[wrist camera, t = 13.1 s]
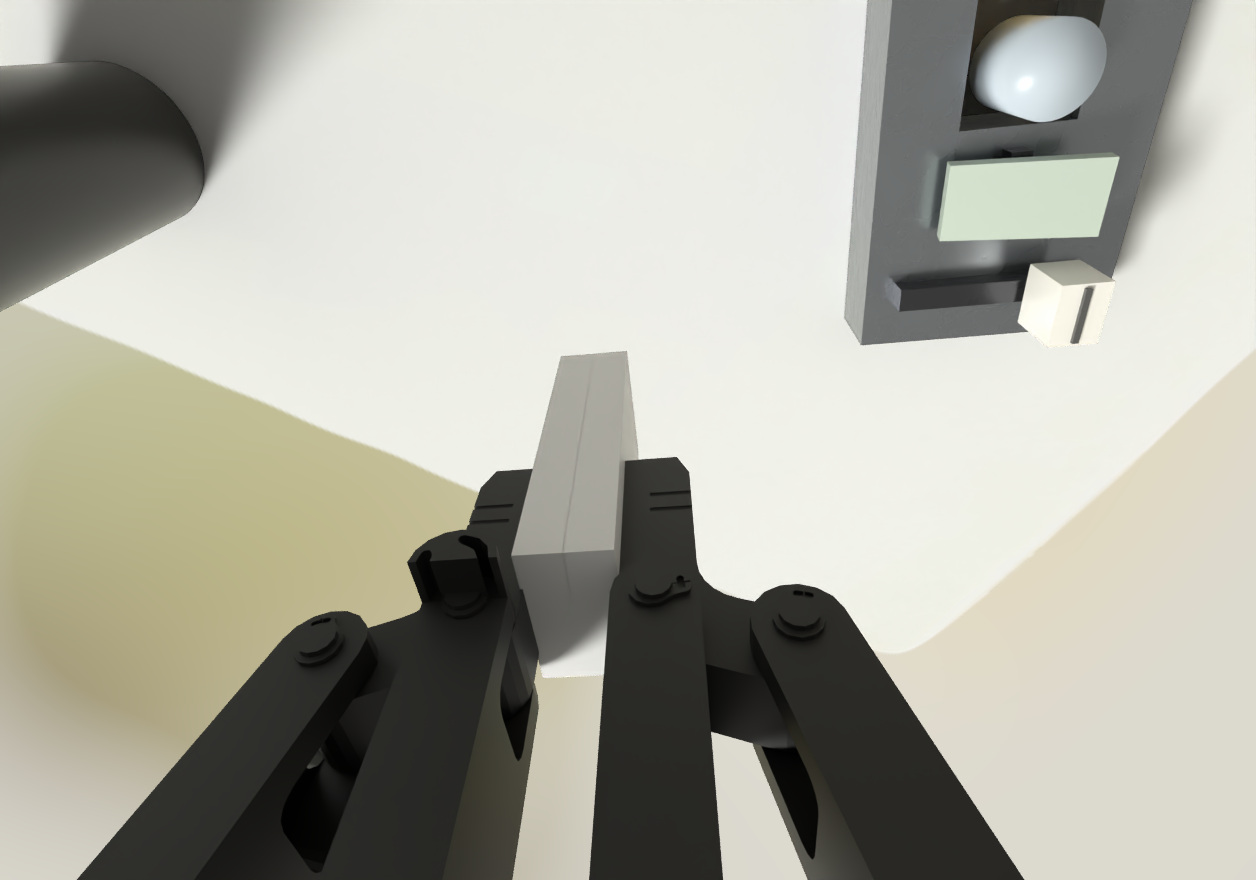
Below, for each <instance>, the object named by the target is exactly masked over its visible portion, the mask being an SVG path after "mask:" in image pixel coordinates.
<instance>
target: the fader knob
mask: <svg viewBox="0 0 1256 880" xmlns="http://www.w3.org/2000/svg"><path fill="white" fill-rule="evenodd" d="M1115 283H1116V281H1115V280H1113V279H1111V278H1110V277H1108V276H1106V275H1105V274H1103V273H1101V272H1100V271H1098V270H1096V269H1095V268H1093V267H1091V266H1090V265H1088V264H1086V263H1085V262H1083V261H1081V260H1069V261H1058V262H1046V263H1035V264H1030V268H1029V273H1028V277H1027V282H1026V286H1025V291H1024V295H1023V300H1022V304H1021V309H1020V313H1019V318H1018V323H1019V324H1020V325H1021V326H1022V327H1024V328H1025V329H1026V330H1027V331H1028V332H1029V333H1031V334H1032V335H1033V336H1034V337H1035V338H1036V339H1037V340H1039V341H1040V342H1041V343H1042V344H1043V345H1044V346H1046V347H1047V348H1050V347H1063V346H1075V345H1088V344H1098V341H1099V337H1100V334H1101V331H1102V327H1103V324H1104V321H1105V317H1106V314H1107V310H1108V307H1109V304H1110V300H1111V297H1112V293H1113V290H1114V287H1115Z"/></svg>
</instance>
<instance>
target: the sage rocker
mask: <svg viewBox="0 0 1256 880" xmlns="http://www.w3.org/2000/svg"><path fill="white" fill-rule="evenodd" d="M1119 158H1120V157H1119V156H1118V155H1116V154H1114V153H1113V152H1108V153H1090V154H1072V155H1054V156H1036V157H1018V158H1001V159H983V160H965V161H947V168H946V175H945V182H944V189H943V196H942V203H941V210H940V217H939V224H938V231H937V237H938V239H939V241H967V240H1002V239H1036V238H1071V237H1098V235H1099V231H1100V228H1101V224H1102V220H1103V217H1104V213H1105V209H1106V206H1107V202H1108V198H1109V195H1110V191H1111V187H1112V183H1113V180H1114V176H1115V172H1116V169H1117V165H1118V161H1119Z"/></svg>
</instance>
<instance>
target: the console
mask: <svg viewBox="0 0 1256 880" xmlns="http://www.w3.org/2000/svg"><path fill="white" fill-rule="evenodd" d="M1191 4H1192V0H1059V4H1058V9H1057V14H1056V16H1074V17H1081V18H1085V19H1087V20H1089V21H1091V22H1093V23H1094V24H1095V25H1096V26H1097V27H1098V28H1099V29H1100V30H1101V32H1102V34H1103V36H1104V39H1105V42H1106V49H1107V57H1106V64H1105V68H1104V71H1103V74H1102V76H1101V79H1100V81H1099V83H1098V85H1097V86H1096V88H1095V89H1094V91H1093V92H1092V94H1091V95H1090V96H1089V97H1088V99H1087V100H1086V101H1085V102H1084V103H1083V104H1082V105H1080V106H1079V107H1078V108H1077V109H1075V110H1074V111H1073V112H1071V113H1069V114H1068V115H1066V116H1064V117H1062V118H1059V119H1056V120H1053V121H1048V122H1034V121H1030V120H1027V119H1024V118H1020V117H1017V116H1014V115H1011V114H1008V113H1004V112H998V113H988V114H979V115H970V116H961V114H962V107H963V100H964V93H965V86H966V80H967V73H968V66H969V59H970V53H971V46H972V39H973V32H974V25H975V19H976V12H977V5H978V0H868V4H867V18H866V31H865V45H864V58H863V72H862V85H861V99H860V113H859V126H858V140H857V153H856V167H855V180H854V194H853V208H852V221H851V235H850V248H849V262H848V276H847V289H846V303H845V316H844V318H845V320H846V322H847V323H848V325H849V326H850V328H851V330H852V331H853V333H854V334H855V336H856V338H857V339H858V341H859V343H860V344H861V345H870V344H883V343H895V342H907V341H920V340H932V339H944V338H957V337H969V336H981V335H993V334H1006V333H1018V332H1028V331H1027V330H1026V329H1025V328H1024V327H1022V326H1021V325H1020V324H1019V323H1018V318H1019V313H1020V309H1021V304H1022V300H1023V295H1024V291H1025V286H1026V282H1027V277H1028V273H1029V268H1030V264H1035V263H1046V262H1058V261H1069V260H1081V261H1083V262H1085V263H1086V264H1088V265H1090V266H1091V267H1093V268H1095V269H1096V270H1098V271H1100V272H1101V273H1103V274H1105V275H1106V276H1108V277H1110V278H1111V279H1112V275H1113V272H1114V269H1115V265H1116V262H1117V258H1118V255H1119V251H1120V248H1121V245H1122V241H1123V238H1124V234H1125V231H1126V227H1127V224H1128V220H1129V217H1130V214H1131V210H1132V207H1133V203H1134V200H1135V196H1136V193H1137V189H1138V186H1139V183H1140V179H1141V176H1142V172H1143V169H1144V165H1145V162H1146V159H1147V155H1148V152H1149V148H1150V145H1151V141H1152V138H1153V134H1154V131H1155V128H1156V124H1157V121H1158V117H1159V114H1160V110H1161V107H1162V104H1163V100H1164V97H1165V93H1166V90H1167V86H1168V83H1169V79H1170V76H1171V73H1172V69H1173V66H1174V62H1175V59H1176V55H1177V52H1178V49H1179V45H1180V42H1181V38H1182V35H1183V31H1184V28H1185V24H1186V21H1187V18H1188V14H1189V11H1190V7H1191ZM1108 152H1113V153H1114V154H1116V155H1118V156H1119V157H1120V158H1119V161H1118V165H1117V169H1116V172H1115V176H1114V180H1113V183H1112V187H1111V191H1110V195H1109V198H1108V202H1107V206H1106V209H1105V213H1104V217H1103V220H1102V224H1101V228H1100V231H1099V235H1098V237H1071V238H1036V239H1002V240H967V241H939V239H938V237H937V231H938V224H939V217H940V210H941V203H942V196H943V189H944V182H945V175H946V168H947V161H965V160H983V159H1001V158H1018V157H1036V156H1054V155H1072V154H1090V153H1108Z"/></svg>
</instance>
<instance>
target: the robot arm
mask: <svg viewBox="0 0 1256 880" xmlns="http://www.w3.org/2000/svg"><path fill="white" fill-rule="evenodd" d="M469 522H470V524H469V525H468V526H467V529H466V530H458V531H453V532H447V533H444V534H442V535H440V536H437V537H435V538H433V539H430V540H428V541H427V542H426V543H425V544H423V545H422V546H421V547H419V548H418V549H417V550H415V552H414V553H413V555H412V556H411V558H410V559H409V560H408V562H407V563H408V566H409V569H410V571H411V574H412V577H413V579H414V582H415V584H416V587H417V590H418V593H419V595H420V598H421V601H422V605H421V608H420V610H418V611H417V612H415V613H413V614H410V615H408V616H405V617H403V618H400V619H396V620H393V621H390V622H387V623H383V624H380V625H377V626H373V627H370V628H368V627H367V625H366V624H365V623H364V621H363V620H362V618H361V617H360V616H359V615H356V614H353V613H351V612H348V611H338V612H337V611H336V612H328V613H325V614H322V615H318V616H315V617H313V618H311V619H309V620H307V621H306V622H304V623H303V624H301V625H298V626H297V627H296V628H294V629H293V630H292V631H291V632H290V633H289V634H288V635H287V636H286V637H285V638H283V639H282V641H281V642H280V643H279V644H278V645H277V647H276V648H275V649H274V650H273V651H272V652H271V653H270V655H269V656H268V657H267V658H266V659H265V661H264V662H263V663H262V664H261V665H260V667H258V669H257V670H256V671H255V672H254V673H253V675H252V676H251V677H250V678H249V679H248V680H247V682H246V683H245V684H244V685H243V686H242V687H241V688H240V690H239V691H238V692H237V693H236V694H235V695H234V697H233V698H232V699H231V700H230V701H229V702H228V704H227V705H226V706H225V707H224V709H222V711H221V712H220V713H219V714H218V715H217V717H216V718H215V719H214V720H213V721H212V722H211V724H210V725H209V726H208V727H207V728H206V729H205V731H204V732H203V733H202V734H201V735H200V736H199V738H198V739H197V740H196V741H195V742H194V743H193V745H192V746H191V747H190V748H189V749H188V750H187V752H186V753H185V754H184V755H183V756H182V757H181V759H180V760H179V761H178V762H177V763H176V764H175V766H174V767H173V768H172V769H171V770H170V772H169V773H168V774H167V775H166V776H165V777H164V778H163V780H162V781H161V782H160V783H159V784H158V785H157V787H156V788H155V789H154V790H153V791H152V792H151V794H150V795H149V796H148V797H147V798H146V799H145V801H144V802H143V803H142V804H141V805H140V807H139V808H138V809H137V810H136V811H135V812H134V814H133V815H132V816H131V817H130V818H129V819H128V821H127V822H126V823H125V824H124V825H123V827H122V828H121V829H120V830H119V831H118V832H117V833H116V835H115V836H114V837H113V838H112V839H111V840H110V842H109V843H108V844H107V845H106V846H105V847H104V849H103V850H102V851H101V852H100V853H99V855H98V856H97V857H96V858H95V859H94V860H93V861H92V863H91V864H90V865H89V866H88V867H87V868H86V870H85V871H84V872H83V873H82V874H81V875H80V877H79V878H78V879H77V880H512V877H513V871H514V864H515V858H516V852H517V845H518V839H519V832H520V825H521V819H522V812H523V806H524V799H525V793H526V787H527V780H528V774H529V767H530V761H531V754H532V748H533V741H534V735H535V728H536V722H537V715H538V709H539V708H538V695H537V691H536V688H535V684H534V679H535V674H536V667H537V662H538V660H539V664H540V668H541V671H542V675H543V678H554V677H575V676H595V675H596V676H598V675H604V679H603V680H604V681H603V694H602V708H601V722H600V736H599V750H598V764H597V777H596V791H595V805H594V819H593V833H592V847H591V861H590V876H589V880H723V873H722V862H721V850H720V836H719V824H718V813H717V800H716V787H715V775H714V763H713V750H712V738H711V732H714V733H718V734H722V735H725V736H729V737H732V738H736V739H739V740H743V741H746V742H750V743H753V746H754V749H755V751H756V754H757V756H758V759H759V761H760V763H761V766H762V769H763V771H764V774H765V776H766V778H767V781H768V783H769V786H770V788H771V791H772V793H773V796H774V798H775V801H776V803H777V806H778V808H779V810H780V813H781V815H782V818H783V820H784V823H785V825H786V828H787V830H788V832H789V835H790V837H791V840H792V842H793V845H794V847H795V850H796V852H797V854H798V857H799V859H800V862H801V864H802V866H803V869H804V872H805V874H806V876H807V879H808V880H1024V879H1023V877H1022V876H1021V874H1020V873H1019V871H1018V869H1017V868H1016V866H1015V865H1014V863H1013V862H1012V860H1011V859H1010V857H1009V856H1008V854H1007V853H1006V852H1005V850H1004V848H1003V847H1002V845H1001V844H1000V842H999V841H998V839H997V838H996V836H995V835H994V833H993V832H992V830H991V829H990V827H989V826H988V824H987V823H986V821H985V820H984V818H983V817H982V815H981V814H980V812H979V811H978V809H977V807H976V806H975V804H974V803H973V801H972V800H971V798H970V797H969V795H968V794H967V792H966V791H965V789H964V788H963V786H962V785H961V783H960V782H959V780H958V779H957V777H956V776H955V774H954V773H953V771H952V770H951V768H950V767H949V765H948V764H947V762H946V761H945V759H944V758H943V756H942V755H941V753H940V752H939V750H938V749H937V747H936V746H935V744H934V742H933V741H932V739H931V738H930V737H929V735H928V733H927V732H926V730H925V729H924V727H923V726H922V725H921V723H920V721H919V720H918V718H917V717H916V715H915V714H914V712H913V711H912V709H911V708H910V706H909V705H908V703H907V702H906V700H905V699H904V697H903V696H902V694H901V693H900V691H899V690H898V688H897V687H896V685H895V684H894V682H893V681H892V679H891V677H890V676H889V674H888V673H887V671H886V670H885V668H884V667H883V665H882V664H881V662H880V661H879V659H878V658H877V657H876V655H875V653H874V652H873V650H872V649H871V647H870V646H869V644H868V643H867V641H866V640H865V638H864V637H863V635H862V634H861V632H860V631H859V629H858V628H857V626H856V625H855V623H854V622H853V620H852V619H851V617H850V616H849V614H848V612H847V611H846V609H845V608H844V607H843V606H842V605H841V604H840V603H839V602H838V601H837V600H836V599H835V598H834V597H833V596H832V595H830V594H828V593H826V592H824V591H822V590H820V589H818V588H816V587H811V586H806V585H800V584H792V585H780V586H778V587H775V588H773V589H770V590H768V591H766V592H764V593H763V594H762V595H761V596H760V597H759V598H758V599H757V600H756V601H755V602H754V601H749V600H744V599H740V598H736V597H732V596H729V595H726V594H723V593H722V592H720V591H718V590H716V589H714V588H713V587H712V586H710V585H709V584H708V583H707V582H706V581H705V580H704V579H703V577H702V576H701V574H700V572H699V570H698V566H697V560H696V549H695V537H694V525H693V513H692V501H691V489H690V477H689V471H688V470H687V469H686V468H685V467H684V465H683V464H682V463H681V462H680V460H679V459H678V458H677V457H671V458H657V459H642V460H638V445H637V436H636V427H635V419H634V410H633V401H632V392H631V384H630V375H629V366H628V357H627V351H622V352H610V353H598V354H586V355H574V356H562V357H561V358H560V362H559V366H558V370H557V374H556V378H555V382H554V386H553V390H552V394H551V398H550V402H549V406H548V410H547V414H546V418H545V422H544V426H543V430H542V434H541V438H540V442H539V446H538V450H537V454H536V458H535V462H534V466H533V469H525V470H510V471H497V472H496V473H495V474H494V475H493V476H492V477H491V478H490V479H489V480H488V481H487V482H486V483H485V484H484V485H483V486H482V487H481V489H480V492H479V495H478V498H477V500H476V503H475V510H473V512H472V515H471V518H470V521H469Z"/></svg>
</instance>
